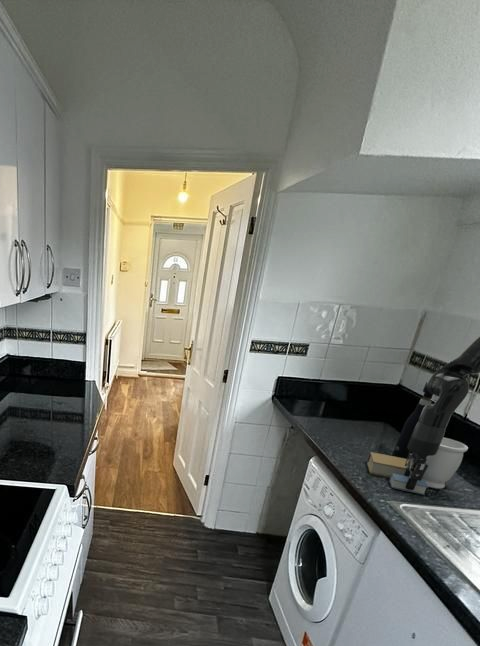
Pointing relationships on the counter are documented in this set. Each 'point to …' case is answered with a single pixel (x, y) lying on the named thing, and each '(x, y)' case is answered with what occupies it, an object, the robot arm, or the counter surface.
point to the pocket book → (401, 481)
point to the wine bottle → (411, 426)
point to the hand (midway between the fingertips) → (407, 484)
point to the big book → (385, 464)
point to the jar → (444, 463)
